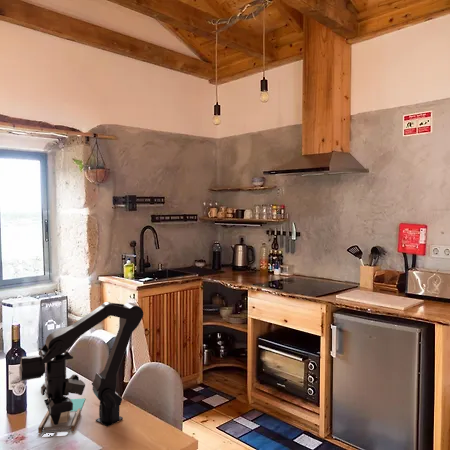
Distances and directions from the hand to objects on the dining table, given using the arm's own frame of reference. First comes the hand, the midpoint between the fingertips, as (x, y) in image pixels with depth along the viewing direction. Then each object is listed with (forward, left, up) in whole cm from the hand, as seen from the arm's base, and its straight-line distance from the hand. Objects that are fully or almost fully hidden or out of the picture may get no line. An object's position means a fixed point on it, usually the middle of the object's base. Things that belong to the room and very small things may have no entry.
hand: (56, 424), depth 131 cm
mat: (+14, -14, -3) cm, 20 cm away
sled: (+5, -4, -3) cm, 7 cm away
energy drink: (+30, -17, -3) cm, 35 cm away
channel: (+4, -4, -3) cm, 6 cm away
